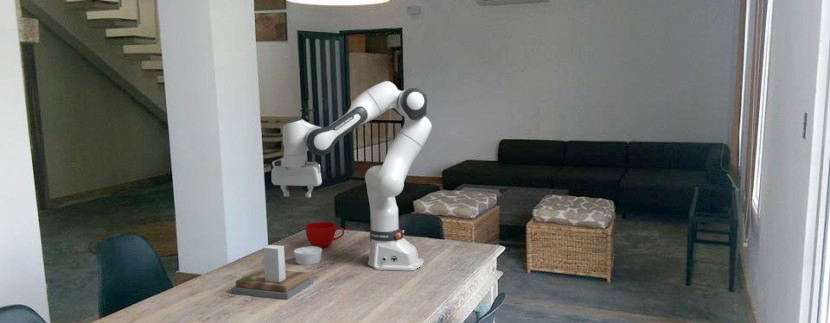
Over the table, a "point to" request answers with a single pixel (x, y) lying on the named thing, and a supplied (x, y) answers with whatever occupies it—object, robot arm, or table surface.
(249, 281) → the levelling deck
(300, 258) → the ramekin
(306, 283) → the grey rectangular slab
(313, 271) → the table surface
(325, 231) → the ceramic cup
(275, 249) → the skincare box
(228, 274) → the table surface
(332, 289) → the table surface
